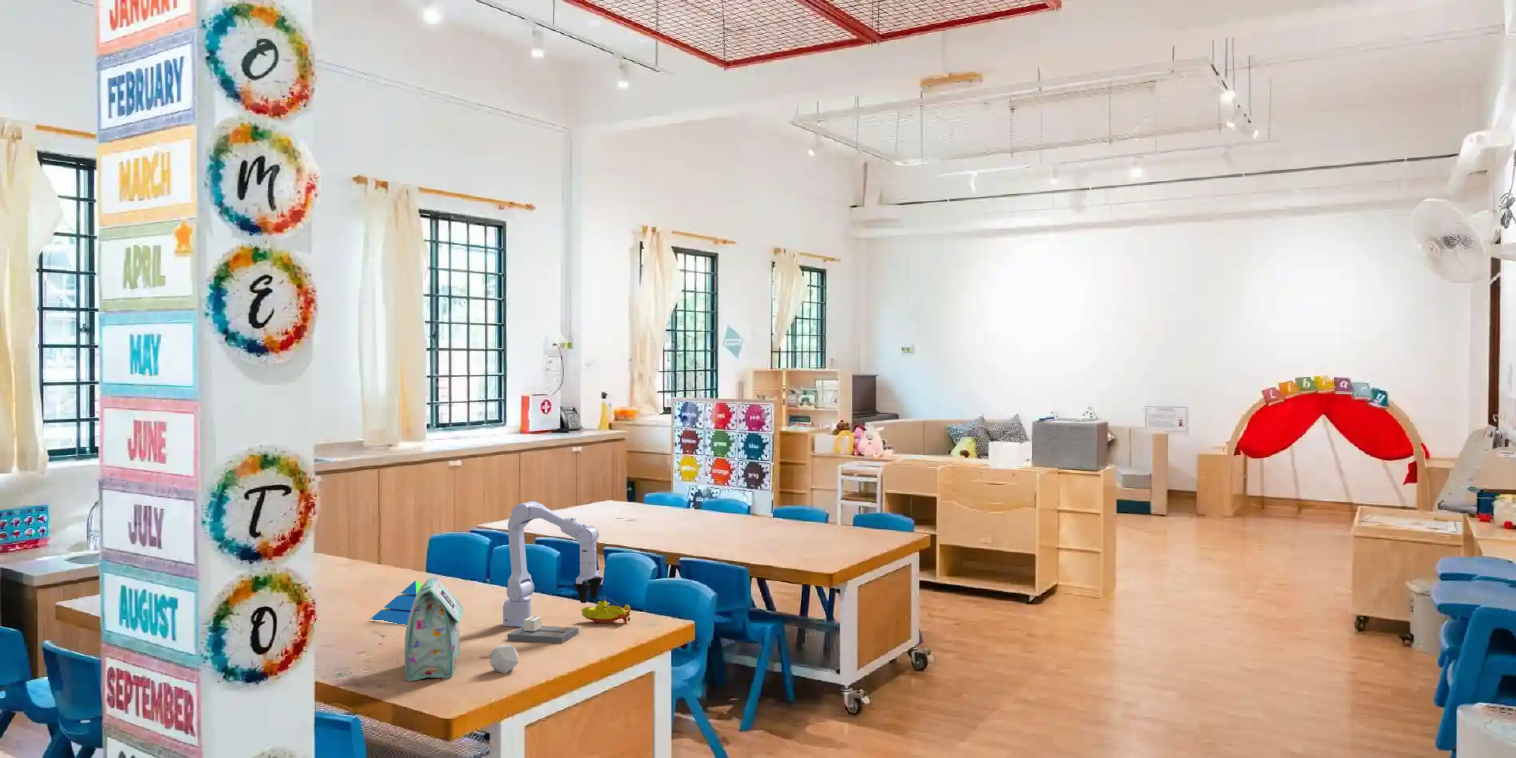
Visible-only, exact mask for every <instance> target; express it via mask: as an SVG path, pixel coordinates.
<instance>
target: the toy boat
mask: <svg viewBox="0 0 1516 758" xmlns="http://www.w3.org/2000/svg"><path fill="white" fill-rule="evenodd" d="M604 598H606V599H607V600H610V601H611V602H613V603H615V604H617V605H614V604H611V602H607V600H604ZM581 613H582V616H583V618H585V619H587V620H589V621H592V622H595V623H598V624H599V623H603V624H604V623H608V624H610V623H613V622H615V621H618V620H623V622H624V624H628V622H631V617H629V616H630V614H631V607H630V605H629V604H625V605H624V606H623V605H622V604H620V603H618V602H616V601H614V600H612V599H611V598H609V597H607V596H605V595H603V594H602V596H600V597H599V601H598V602H597V603H596V606H595V607H594V606H589V607H588V606H587V607H583V608H581Z"/></svg>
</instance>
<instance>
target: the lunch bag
mask: <svg viewBox="0 0 1516 758" xmlns="http://www.w3.org/2000/svg"><path fill="white" fill-rule="evenodd" d="M463 613H464V607H463V605H462V603H461V602H460V601H459V600H458V599H457V598H456V596H454V594H453V593H452V592H451V591H450V590H449V589H448V588H447V587H446V586H445V585H444V583H443V582H442V581H441V580H440V579H439V578H438V577H431V578H428V579H426V581H425V582H424V583H423V584H422V586H421V588H420V589H419V591H418V593H417V595H416V597H415V600H414V603H413V606H412V609H411V612H410V615H409V619H408V623H407V626H406V629H405V634H404V668H405V679H406V681H408V682H412V681H419V680H422V679H425V678H436V679H440V678H443V679H449V678H452V677H453V675H454V672H455V669H456V668H455V667H456V664H457V661H458V658H459V655H460V649H461V648H460V646H461V645H460V630H459V629H460V628H459V623H460V622H461V618H462V616H463Z"/></svg>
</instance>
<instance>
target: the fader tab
mask: <svg viewBox="0 0 1516 758" xmlns="http://www.w3.org/2000/svg"><path fill="white" fill-rule="evenodd" d="M541 626H542V616H531V617H529V618H527V619H525V620H524V631H536V630H538V629H540V628H541Z"/></svg>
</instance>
